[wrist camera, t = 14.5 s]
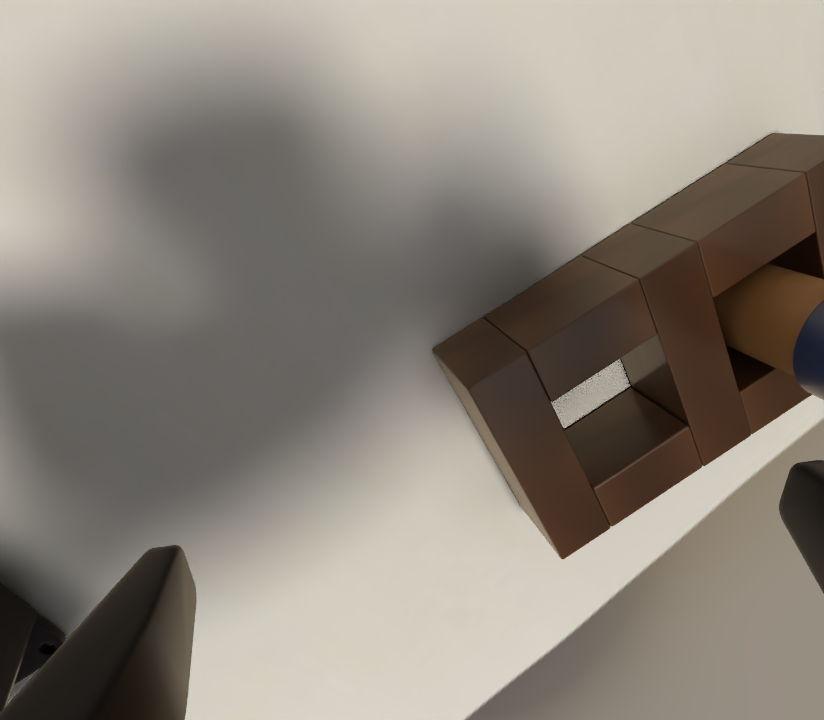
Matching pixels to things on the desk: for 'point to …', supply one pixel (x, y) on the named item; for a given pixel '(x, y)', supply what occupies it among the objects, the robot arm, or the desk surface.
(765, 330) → the travel flask
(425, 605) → the desk surface
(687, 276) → the holder
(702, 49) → the desk surface
